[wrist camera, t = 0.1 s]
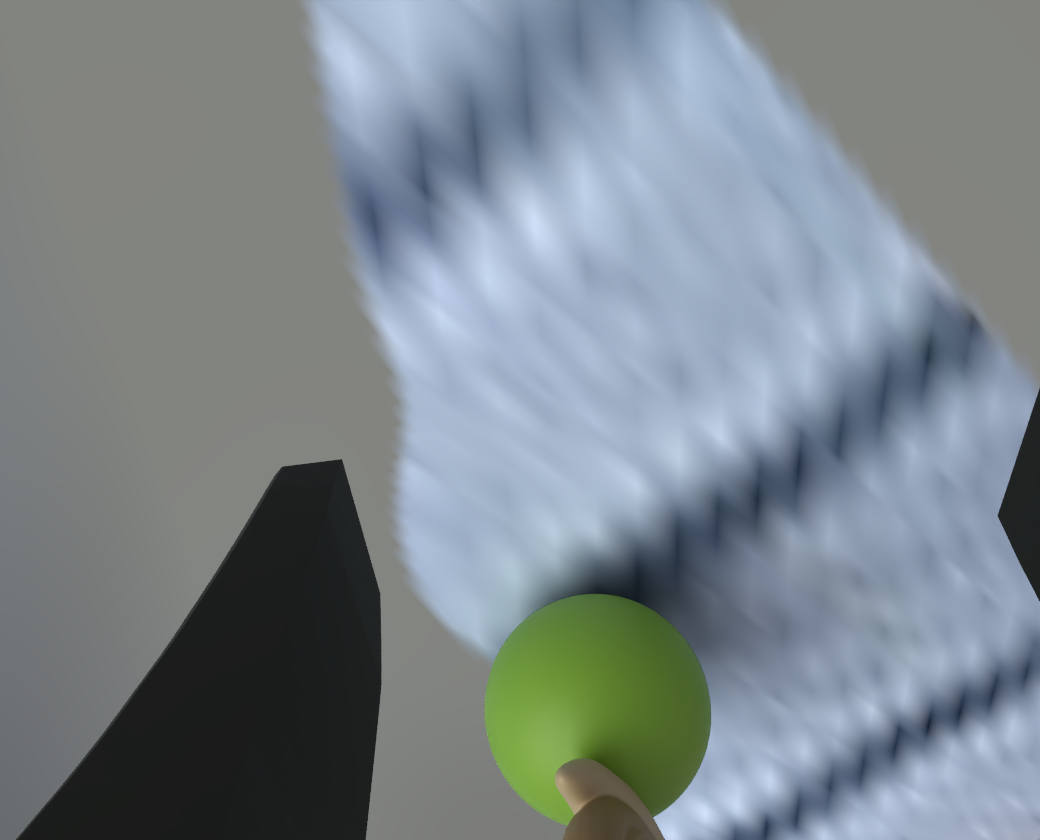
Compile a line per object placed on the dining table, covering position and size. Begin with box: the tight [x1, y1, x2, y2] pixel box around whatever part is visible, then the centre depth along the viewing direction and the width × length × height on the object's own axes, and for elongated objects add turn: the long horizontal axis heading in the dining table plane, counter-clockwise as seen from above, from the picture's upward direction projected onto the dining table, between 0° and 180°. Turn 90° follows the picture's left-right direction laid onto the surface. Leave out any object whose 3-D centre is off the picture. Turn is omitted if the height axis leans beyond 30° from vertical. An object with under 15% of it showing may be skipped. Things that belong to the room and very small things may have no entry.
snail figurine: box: [485, 594, 711, 840], centre depth 19 cm, size 5×6×12 cm
